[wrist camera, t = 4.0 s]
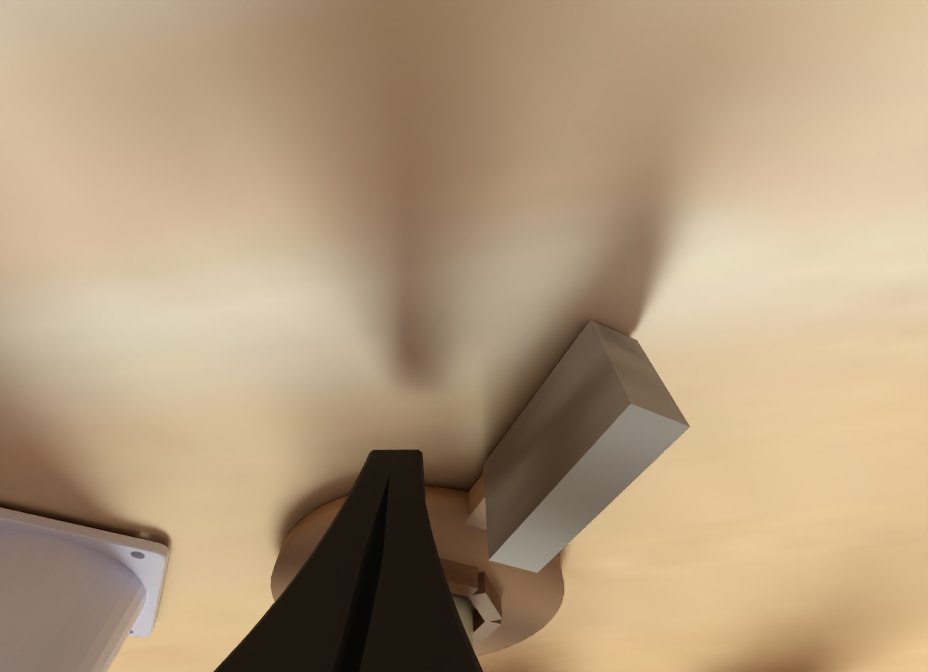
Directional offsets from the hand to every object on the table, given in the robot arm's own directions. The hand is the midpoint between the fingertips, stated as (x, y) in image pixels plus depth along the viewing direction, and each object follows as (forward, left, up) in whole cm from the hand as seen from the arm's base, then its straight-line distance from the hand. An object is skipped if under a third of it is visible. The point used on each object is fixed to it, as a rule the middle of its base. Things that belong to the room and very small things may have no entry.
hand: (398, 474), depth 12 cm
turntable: (+4, -5, -2) cm, 6 cm away
